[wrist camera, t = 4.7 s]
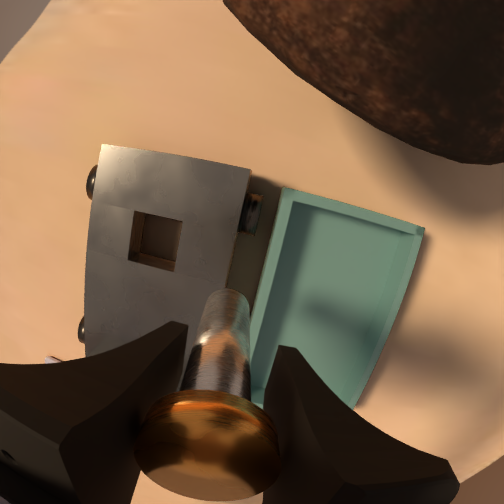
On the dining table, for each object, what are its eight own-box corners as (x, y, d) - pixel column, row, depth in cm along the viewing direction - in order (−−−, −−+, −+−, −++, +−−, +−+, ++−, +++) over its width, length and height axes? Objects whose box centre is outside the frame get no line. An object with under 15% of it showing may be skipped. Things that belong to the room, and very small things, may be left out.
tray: (340, 400, 22) (346, 420, 20) (233, 383, 22) (229, 404, 20) (408, 222, 19) (425, 228, 16) (282, 186, 19) (285, 187, 16)
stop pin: (254, 344, 14) (263, 506, 6) (188, 332, 14) (138, 486, 5) (269, 282, 14) (300, 432, 5) (197, 269, 13) (129, 405, 5)
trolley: (219, 385, 22) (205, 450, 15) (92, 347, 22) (49, 393, 15) (268, 175, 19) (270, 170, 12) (111, 146, 19) (49, 135, 12)
